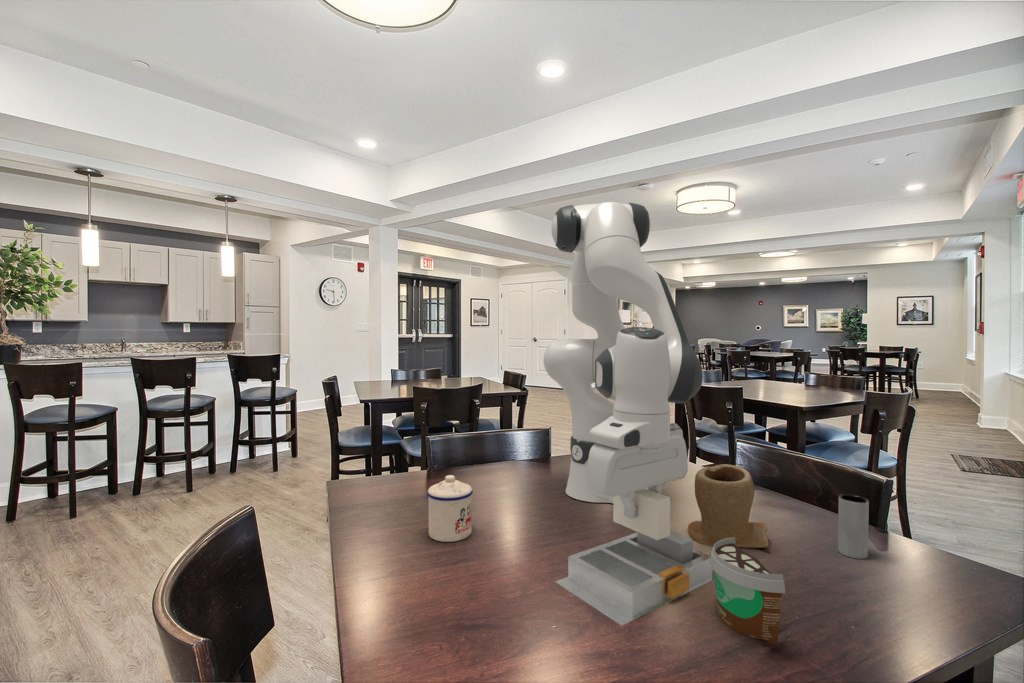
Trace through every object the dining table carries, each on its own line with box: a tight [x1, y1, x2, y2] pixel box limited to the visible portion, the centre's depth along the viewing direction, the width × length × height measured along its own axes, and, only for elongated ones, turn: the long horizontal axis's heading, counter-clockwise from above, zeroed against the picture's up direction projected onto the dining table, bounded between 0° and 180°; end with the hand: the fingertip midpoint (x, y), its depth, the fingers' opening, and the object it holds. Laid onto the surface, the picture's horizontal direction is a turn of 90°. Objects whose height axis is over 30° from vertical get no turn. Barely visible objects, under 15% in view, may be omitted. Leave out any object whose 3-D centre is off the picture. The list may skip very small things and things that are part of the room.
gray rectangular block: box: [636, 530, 694, 564], centre depth 82 cm, size 3×9×6 cm, turn 35°
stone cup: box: [687, 463, 770, 549], centre depth 93 cm, size 15×12×15 cm
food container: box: [709, 538, 786, 649], centre depth 67 cm, size 12×6×10 cm, turn 5°
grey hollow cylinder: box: [837, 493, 870, 560], centre depth 89 cm, size 4×4×10 cm
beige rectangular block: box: [612, 489, 671, 540], centre depth 78 cm, size 3×9×6 cm, turn 35°
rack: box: [555, 532, 715, 627], centre depth 78 cm, size 24×15×5 cm, turn 125°
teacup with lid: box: [426, 474, 474, 543], centre depth 99 cm, size 12×9×12 cm
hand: (640, 514), depth 78 cm, fingers closed on beige rectangular block, 3 cm apart
